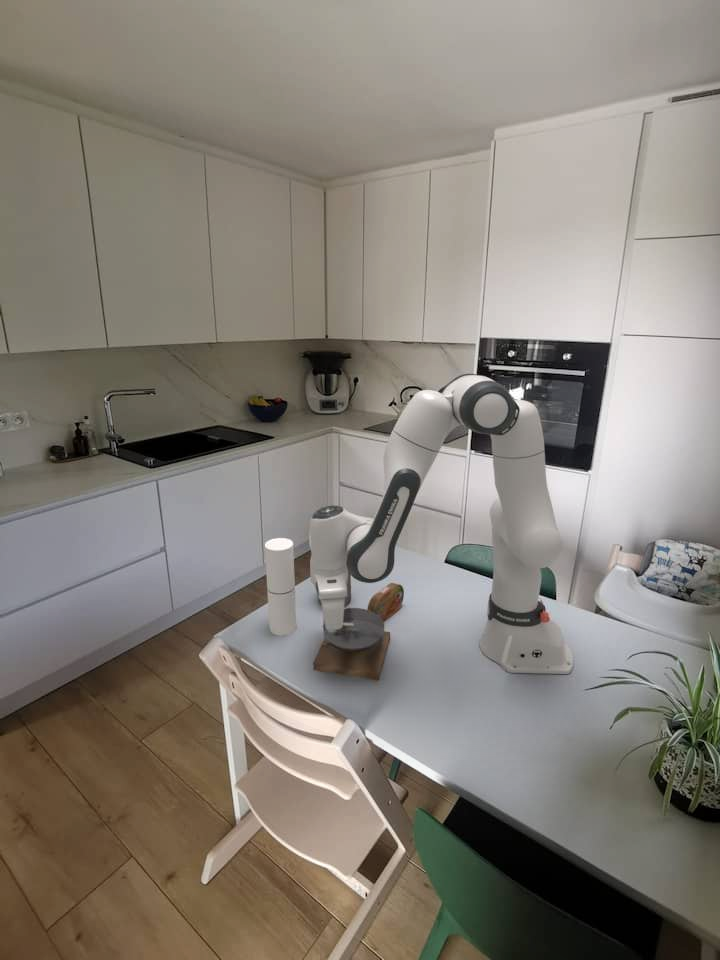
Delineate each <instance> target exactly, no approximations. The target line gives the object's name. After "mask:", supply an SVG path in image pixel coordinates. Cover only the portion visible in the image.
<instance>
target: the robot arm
mask: <svg viewBox="0 0 720 960" xmlns="http://www.w3.org/2000/svg"><path fill="white" fill-rule="evenodd" d="M460 426H464V427H465V428H467V429H469V430H470V431H472V432H475V433H477V434H483V435H490V440H491V455H492V464H493V465H492V466H493V467H492V468H493V476H494V485H495V489H496V492H497V495H498V497H497V498H496V499H495V500H494V501H493V502H492V504H491V506H490V508H489V519H490V522H491V537H492V538H491V540H492V541H491V543H492V556H493V575H492V585H491V592H490V594H489V597H488V601H487V611H486V615H487V620H486V624H485V627H484V630H483V632H482V635H481V637H480V639H479V648H480V649H481V652H482V653H483V654H484V655H485V656H486V657H487V658H488V659H490V660H492V661H493V662H495V663H496V664H498V665H499V666H500V667H502V669H503V670H504V671H506V672H508V673H511V674H545V675H546V674H547V675H549V674H551V675H567V674H570V673H571V672H572V670H573V669H574V668H573V667H574V656H573V653H572V650H571V648H570V646H569V645H568V643H567V641H566V640H565V638H564V635H563V634H564V633H563V632H562V630H561V628H560V626H559V625H558V624H557V623H556V622H554V621H553V620H551V619H550V615H549V612H547V610H546V609H547V608H546V606H545V604H544V602H543V600H542V599H541V598H540V591H541V583H542V572H541V571H542V570H541V569H543V568H548V567H550V566H552V565H553V564H555V563H557V561H558V560H559V559H560V558H561V556H562V554H563V550H564V542H563V539H562V536H561V534H560V532H559V529H558V526H557V522H556V518H555V512H554V508H553V504H552V499H551V497H550V492H549V487H548V482H547V470H546V453H545V441H544V440H545V439H544V431H543V426H542V421H541V417H540V414H539V410H538V407H536V405H534V404H533V403H532V402H530V401H527V400H523V399H514V398H513V396H512V395H511V394H510V392H509V391H508V389H507V388H506V387H505V386H504V385H502V384H501V383H500V382H497V381H495V380H493V379H492V378H490V377H487V376H485V375H480V374H479V375H478V374H476V373H464V374H461V375H458V376H456V377H455V378H453V379H452V380H451V381H449V382H448V383H447V384H445V385H444V386H443V387H441V388H440V389H439V390H438V391H436V390H431V389H423V390H419V391H417V392H416V393H415V394H414V395H413V396H412V397H411V399H410V400H409V402H408V403H407V404H406V406H405V408H403V410H402V412H401V414H400V415H399V417H398V419H397V421H396V423H395V425H394V427H393V429H392V431H391V433H390V435H389V437H388V440H387V443H386V447H385V450H384V453H383V459H382V460H383V470H384V486H383V487H384V488H383V492H382V493H383V494H382V498H381V501H380V502H379V505H378V508H377V509H376V512H375V514H374V517H372V516H362V515H357V514H355V513H352V512H350V511H348V510H347V509H345V508H344V507H343V506H340V505H326V506H323V507H321V508H319V509H317V510H316V511H315V512H314V513H313V514H312V516H311V518H310V521H309V531H308V532H309V537H308V539H309V542H308V543H309V545H308V546H309V548H310V552H311V556H310V559H309V563H310V564H309V565H310V566H309V567H310V568H309V570H310V573H309V574H310V583H311V584H312V585H313V587H314V589H315V591H316V593H317V594H316V595H317V597H319V599H321V603H322V606H321V607H322V615H323V614H324V620H325V626H326V629H327V630H328V632H335V631H336V630H338V629H341V628H342V626H343V619H344V609H345V607H344V605H345V597H347V581H348V571H349V573H350V575H351V577H352V578H353V579H355V580H357V581H358V582H361V583H364V584H365V583H366V584H373V583H378V582H381V581H383V580H384V579H386V578H387V577H388V576H389V575H390V574H391V573H392V571H393V570H394V566H395V550H396V545H397V542H398V541H399V538H400V535H401V534H402V533H401V532H402V531H403V528H404V526H405V523H406V521H407V519H408V517H409V515H410V512H411V510H412V508H413V505H414V503H415V501H416V498H417V495H418V493H419V491H420V489H421V488H422V485H423V483H424V481H425V479H426V477H427V475H428V473H429V471H430V469H432V466H433V464H434V462H435V460H436V459H437V456H438V455H439V452H440V451H441V448H442V446H443V444H444V442H445V440H446V438H447V436H448V435H449V434H450V433H451V432H452V431H453V430H454V429H456V428H457V427H460ZM539 598H540V601H539Z"/></svg>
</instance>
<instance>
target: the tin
mask: <svg viewBox="0 0 720 960" xmlns="http://www.w3.org/2000/svg"><path fill="white" fill-rule="evenodd" d="M404 592H405V591H404V587H403V585H402V584H398V583H395V582H391V583H388V584H387V585H386V586H384V587H383V588H381V589H380V590H379V591H378V592H376V593H375V594H374V595H372V597H371V599H370V600H369V602H368V605H367V608H366V610H369V611H372V612H374V613H376V614H377V615H378V616H379V617H380V618H381V619H382V620H383V622H384V623H385V622H386V621H387V620H389V619H390V618H391V617H393V615H395V614H396V613H397V612H398V611H399V610H400V609H401V606H402V604H403V601H404V595H405V593H404Z"/></svg>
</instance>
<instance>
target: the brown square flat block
mask: <svg viewBox="0 0 720 960" xmlns="http://www.w3.org/2000/svg"><path fill="white" fill-rule="evenodd" d="M323 638H324V637H323ZM390 640H391V631H385V630H384V637H383V639H382V641H381V642H380V643H379V644H378V645H377V646H375V647H373V648H371V649H369V650H365V651H360V652H347V651H342V650H339V649H336V648H334V647H332V646H331V645H329V644H328V643H327V642H326V640H325V638H324V639H323V641H322V642H321V645H320V647H319V649H318V651H317V654H316V655H315V658H314V660H313V662H312V665H313V667H312V668H313V669H312V670H313V671H318V672H319V671H320V672H325V673H331V674H338V675H344V676H348V677H349V676H350V677H356V678H361V679H362V678H363V679H368V680H374V681H380V678H381V675H382V671H383V668H384V667H383V666H384V663H385V660H386V655H387V653H388V652H387V651H388V647H389V644H390Z"/></svg>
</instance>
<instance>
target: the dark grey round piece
mask: <svg viewBox="0 0 720 960" xmlns="http://www.w3.org/2000/svg"><path fill="white" fill-rule="evenodd" d="M322 617H323V618H322V619H323V620H322V622H323V623H322V635H323V638H325V640H326V642H327V643H328V644H329V645H331V646H332V647H334V648H336V649H339V650H342V651H347V652H360V651H365V650H369V649H371V648H373V647H375V646H377V645H378V644H379V643H380V642H381V641H382V639H383V637H384V631H385V622H383V620H382V619H381V618H380V617H379V616H378V615H377V614H376V613H374V612H372V611H369V610H367V608H366V609H364V608H360V607H348V608H344V619H343V626H342V628H341V629H338V630H336V631H335V632H328V630H327V629H326V626H325V620H324V614H323V613H322Z"/></svg>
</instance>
